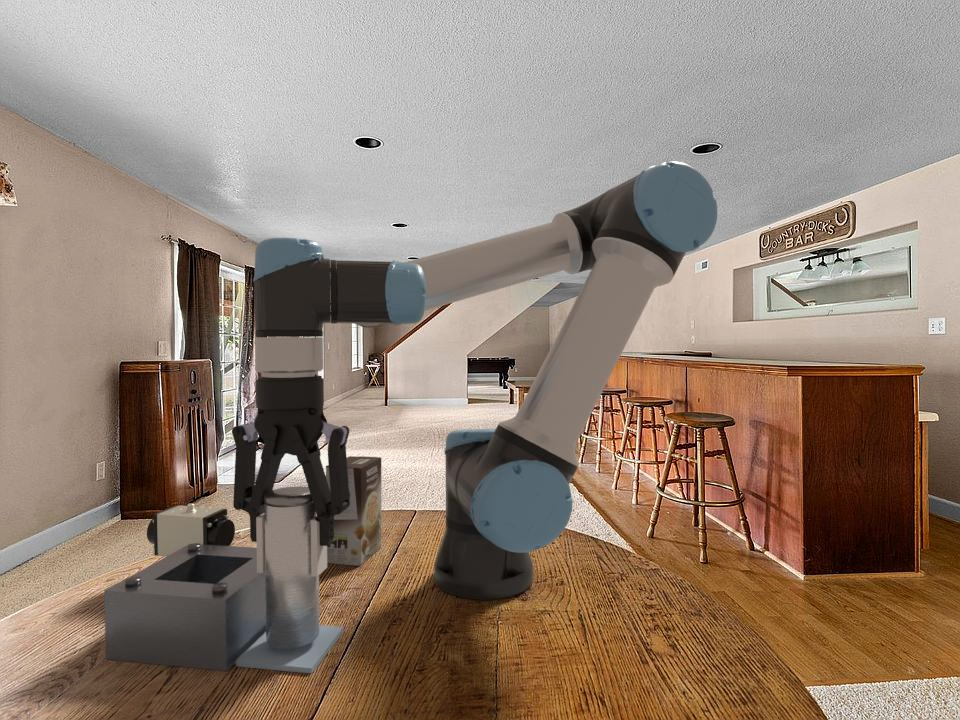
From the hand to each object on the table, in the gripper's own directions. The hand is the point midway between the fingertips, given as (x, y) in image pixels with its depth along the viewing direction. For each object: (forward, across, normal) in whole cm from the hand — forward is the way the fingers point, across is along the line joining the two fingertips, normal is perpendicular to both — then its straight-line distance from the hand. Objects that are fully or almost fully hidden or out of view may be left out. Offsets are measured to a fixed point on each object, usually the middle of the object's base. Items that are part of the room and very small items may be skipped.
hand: (292, 569), depth 67 cm
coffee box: (+10, +4, -29) cm, 31 cm away
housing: (+9, +13, -2) cm, 16 cm away
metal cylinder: (+8, 0, 0) cm, 8 cm away
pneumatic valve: (+10, +24, -15) cm, 30 cm away
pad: (+9, 0, 0) cm, 9 cm away
